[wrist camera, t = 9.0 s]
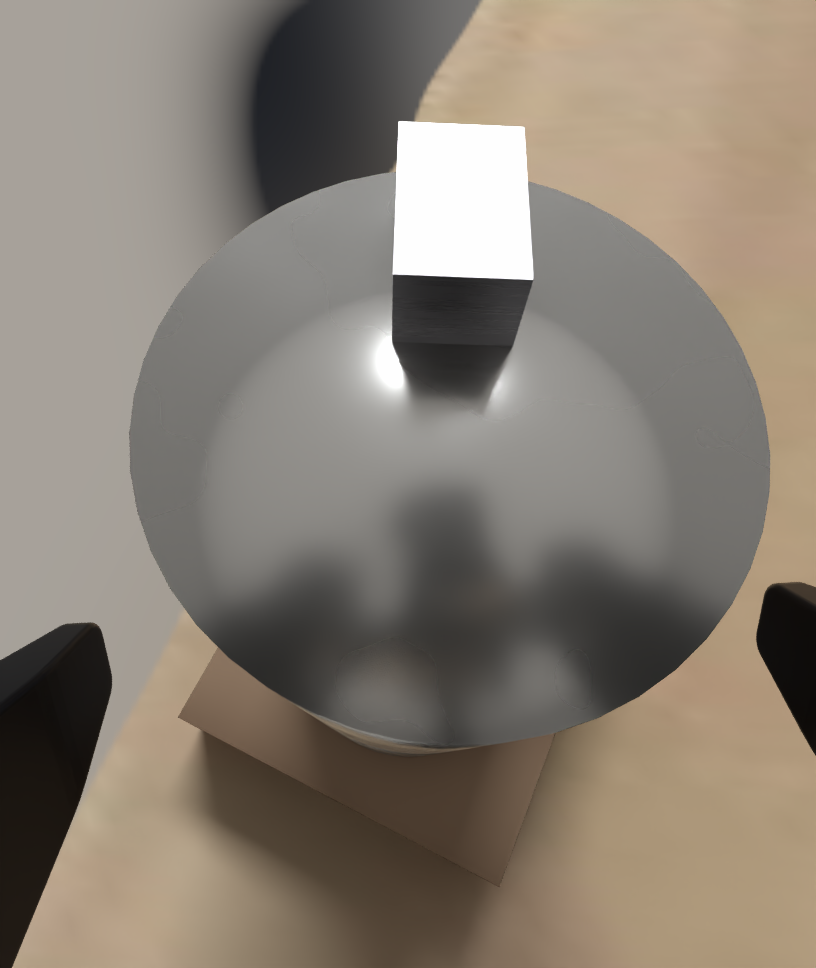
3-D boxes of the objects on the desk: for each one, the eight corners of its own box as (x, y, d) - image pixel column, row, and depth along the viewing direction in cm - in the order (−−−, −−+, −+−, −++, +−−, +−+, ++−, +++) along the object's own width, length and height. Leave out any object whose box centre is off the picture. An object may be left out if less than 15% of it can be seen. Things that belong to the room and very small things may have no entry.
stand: (485, 871, 19) (499, 886, 16) (202, 722, 20) (177, 717, 18) (593, 581, 22) (618, 560, 19) (343, 468, 23) (339, 436, 21)
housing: (523, 759, 17) (927, 753, 4) (288, 754, 17) (-3, 731, 4) (514, 536, 20) (763, 99, 7) (306, 529, 20) (152, 74, 7)
